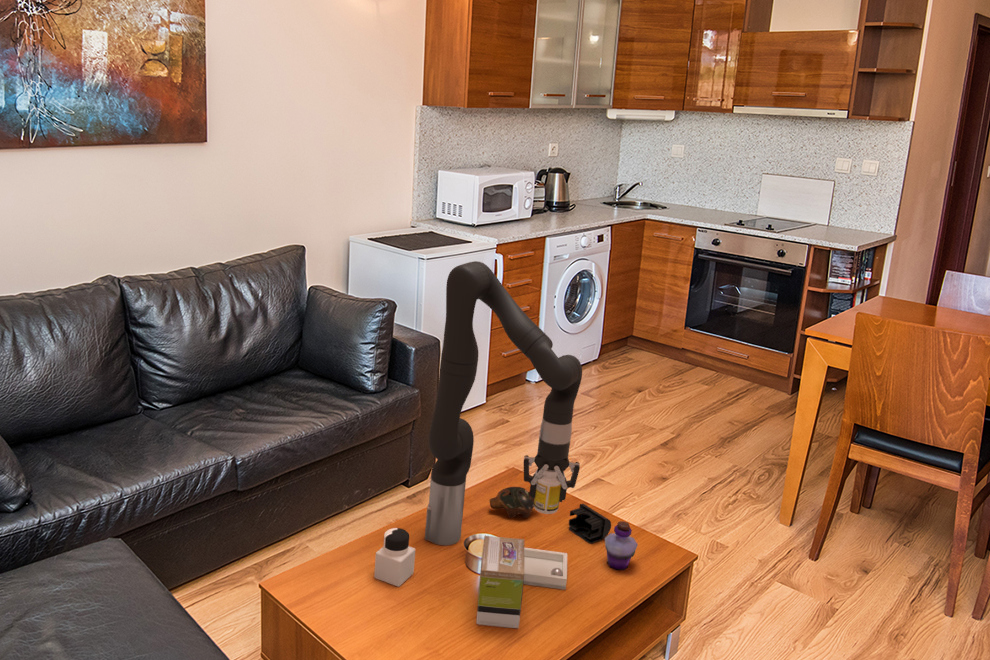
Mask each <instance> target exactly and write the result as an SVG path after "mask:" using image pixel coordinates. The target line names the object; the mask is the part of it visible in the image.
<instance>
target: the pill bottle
mask: <svg viewBox="0 0 990 660" xmlns="http://www.w3.org/2000/svg"><path fill="white" fill-rule="evenodd" d="M560 492H561V482H560V481H559V479H558V476H557V472H555V471H554V470H546V471H544V473H543V475H542V477H541V478H540V479H538V481H537V483H536V491H535V499H534V508H533V509H535V511H537V512H538V513H541V514H545V515H551V514H556V513H557V512H558V510H559V507H560V502H559V500H560Z"/></svg>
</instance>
